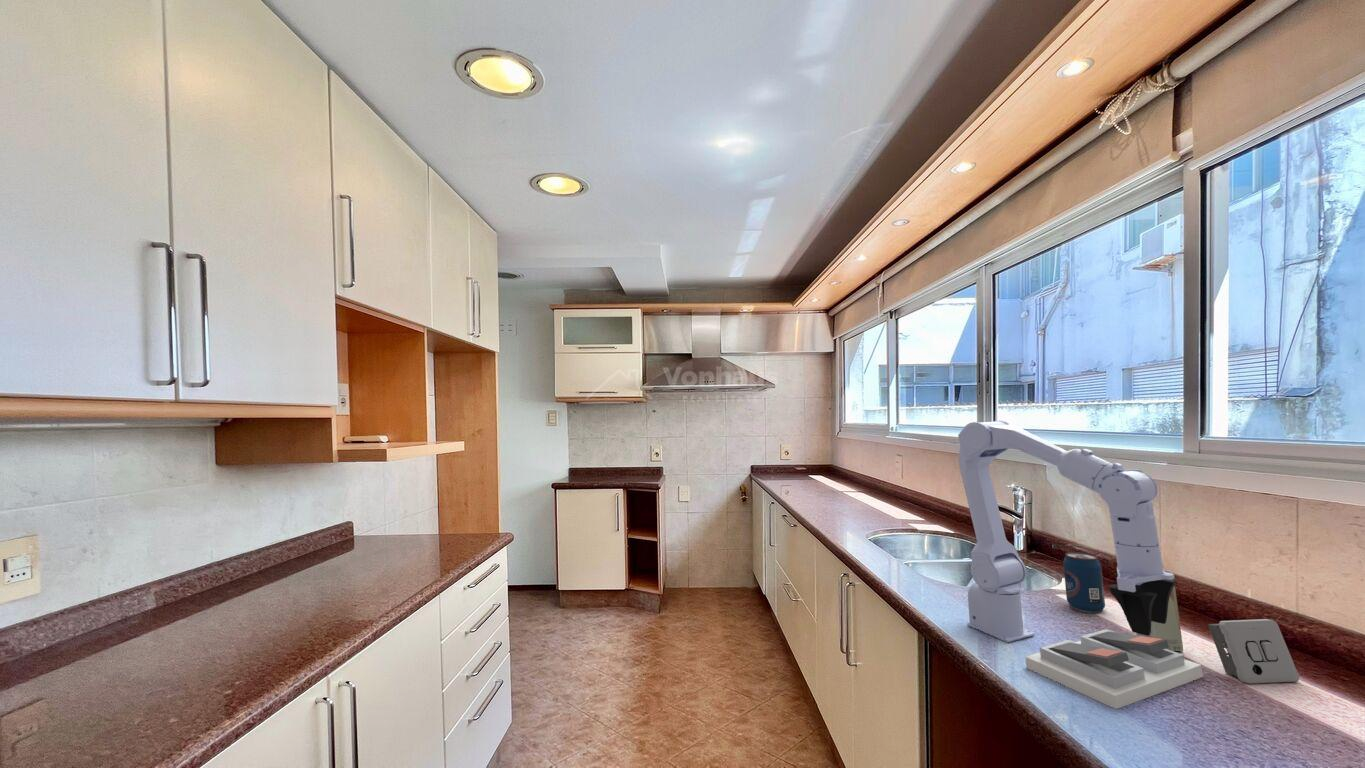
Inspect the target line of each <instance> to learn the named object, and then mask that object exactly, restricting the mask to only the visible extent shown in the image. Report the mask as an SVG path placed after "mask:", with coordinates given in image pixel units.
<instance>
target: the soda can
mask: <svg viewBox="0 0 1365 768" xmlns="http://www.w3.org/2000/svg"><path fill="white" fill-rule="evenodd" d="M1062 561H1063V562H1062V563H1063V572H1064V573H1063V574H1064V584H1065V595H1066V602H1067V603H1068V605H1069V606H1070V607H1071V608H1072V609H1074V610H1076V611H1079V612H1083V613H1087V614H1088V613H1090V614H1098V613H1102V612H1103V611H1104V609H1105V607H1106V600H1105V592H1104V591H1105V589H1104V581H1103V579H1104V578H1103V570H1102V569H1103V568H1102V564H1101V563H1100V561H1099V560H1098V556H1097V555H1095V554H1092V553H1087V552H1077V551H1072V552H1071V551H1069V552H1066V553H1065V557H1064V558H1063V560H1062Z"/></svg>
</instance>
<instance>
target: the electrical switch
mask: <svg viewBox="0 0 1365 768" xmlns="http://www.w3.org/2000/svg"><path fill="white" fill-rule="evenodd" d="M1207 626H1208V629H1209V632H1210V634H1211V637H1212V639H1213V643H1214V645H1215V648H1216V651H1217V653H1218V656H1219V659H1220V661H1221V664H1222V666H1223V669H1224V673H1225V674H1227V673H1228V674H1227V675H1232V676H1235V677H1237V678H1238V679H1239V680H1240V681H1241V682H1242V683H1243V682H1245V683H1244V684H1264V683H1265V684H1267V683H1287V682H1288V683H1290V682H1299V681H1300V675H1299V672H1298V669H1297V668H1296V665H1295V663H1294V660H1293V658H1292V656H1291V653H1290V651H1289V649H1288V646H1287V644H1286V642H1285V639H1284V636H1283V634H1282V631H1281V630H1280V629H1281V628H1280V627H1279V625H1278V622H1277V621H1275V620H1273V619H1268V618H1262V619H1261V618H1259V619H1238V620H1237V619H1236V620H1235V619H1233V620H1220V621H1219V623H1208V625H1207ZM1225 649H1226V650H1225Z"/></svg>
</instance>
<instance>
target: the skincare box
mask: <svg viewBox="0 0 1365 768" xmlns="http://www.w3.org/2000/svg"><path fill="white" fill-rule="evenodd" d="M1176 591H1177V590H1176V585H1175V586H1174V587H1173V589H1172V592H1171V595H1170V598H1169V603H1168V613H1167V620H1166V623H1165V624H1162V623H1157V622H1153V621H1151V633H1150V635H1149V636H1147V635H1143V634H1138V633H1135V635H1137V636H1144V637H1151V638H1158V639H1164V640H1167V643H1168V646H1169V648H1166V649H1168V650H1171V651H1174V652H1184V645H1183V638H1182V637H1183V636H1182V629H1181V622H1180V614H1179V607H1178V599H1177V593H1176Z"/></svg>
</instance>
